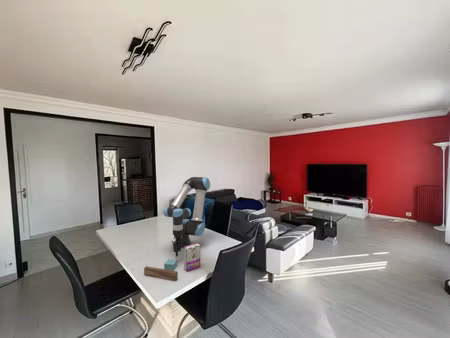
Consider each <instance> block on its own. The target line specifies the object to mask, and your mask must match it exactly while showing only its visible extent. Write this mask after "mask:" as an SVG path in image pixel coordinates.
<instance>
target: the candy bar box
mask: <svg viewBox="0 0 450 338" xmlns="http://www.w3.org/2000/svg"><path fill="white" fill-rule="evenodd" d="M199 268H201V244H199V243H193V244H191V245H189V246H185V247H184V248H183V269H184V270H185V272H186V273H189V272H190V271H193V270H196V269H199Z"/></svg>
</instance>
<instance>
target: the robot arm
mask: <svg viewBox="0 0 450 338" xmlns="http://www.w3.org/2000/svg"><path fill="white" fill-rule="evenodd" d="M210 189H211V181H210V179H209V178H208V177H205V176H191V177H189V178H188V179H186V180H185V181H184V182H183V184H182V186H181V188H180V190H179V192H177V194H176V196H175V198H174V199H173V201H172V202H171V204H170V205H169V207H165V208H164V209H163V211H162V212H163V216H164V217H166V218H167V217H168V218H172V235H173V236H174V237H173V240H172V241H171V243H172V247H173V248H172V249H173V252H174V253H175V260H177V261H180V256H181V255H180V254H181V251H182V249H184V247H185V246H189V245H192V243H191V239H190V236H195V237H201V236H202V235H203V234H204V232H205V229H206V224H205V223H204V220H203V214H204V213H203V212H204V208H205V207H204V205H205V198H206V193H208V190H210ZM192 190H195V191H194V192H195V199H194V207H193V212H192V211H191V209H190V208H187V207H186V208H181V206H182V204H183V202H185V199H186V197H187V196H188V194H189V193H190V192H191V191H192ZM192 213H193V214H192ZM191 215H192V218H191V219H188V218H190V217H191Z"/></svg>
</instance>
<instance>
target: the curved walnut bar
mask: <svg viewBox="0 0 450 338" xmlns="http://www.w3.org/2000/svg"><path fill="white" fill-rule="evenodd" d="M143 276H146V277H150V278H151V277H152V278H158V279H162V280H167V281H173V282H177V281H178V279H179V278H178V276H179V272H178V271H176V270H174V271H171V270H166V269H164V268H159V267H153V266H149V265H146V266H145V267H143Z"/></svg>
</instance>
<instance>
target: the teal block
mask: <svg viewBox="0 0 450 338" xmlns="http://www.w3.org/2000/svg"><path fill="white" fill-rule="evenodd" d="M163 267H164V268H163V269H166V270H171V271H175V270H176V268H177V267H178V260H176V259H170V258H169V259H167V260H166V262H165V263H164V264H163Z"/></svg>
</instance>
